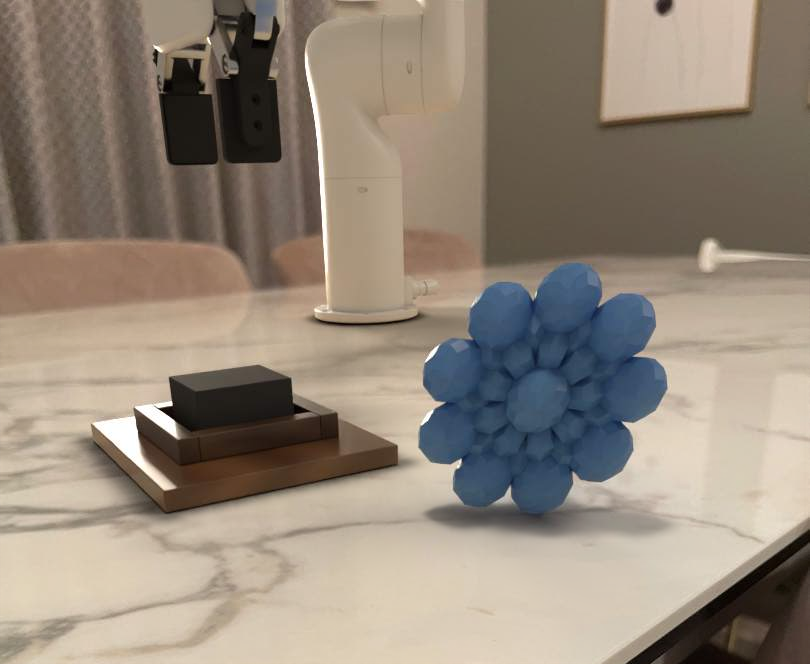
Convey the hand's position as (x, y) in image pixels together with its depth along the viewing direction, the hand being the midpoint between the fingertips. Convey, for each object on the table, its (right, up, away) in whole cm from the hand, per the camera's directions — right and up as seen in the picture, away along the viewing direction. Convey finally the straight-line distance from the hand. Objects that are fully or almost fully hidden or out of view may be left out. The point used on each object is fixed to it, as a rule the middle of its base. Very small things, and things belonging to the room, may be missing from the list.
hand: (221, 163), depth 50 cm
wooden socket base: (0, -17, +3) cm, 17 cm away
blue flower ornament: (+17, -21, -6) cm, 28 cm away
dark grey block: (0, -15, +3) cm, 16 cm away
